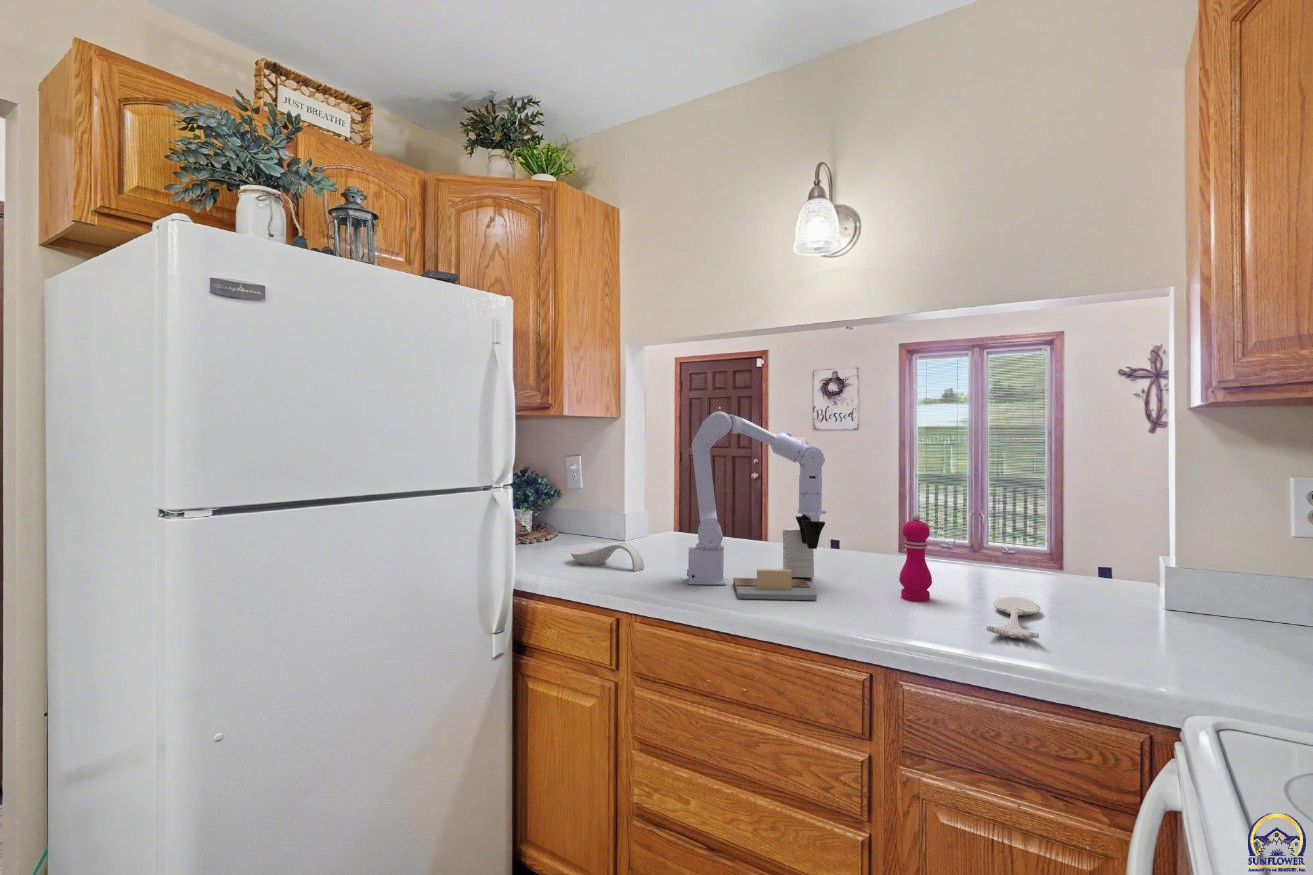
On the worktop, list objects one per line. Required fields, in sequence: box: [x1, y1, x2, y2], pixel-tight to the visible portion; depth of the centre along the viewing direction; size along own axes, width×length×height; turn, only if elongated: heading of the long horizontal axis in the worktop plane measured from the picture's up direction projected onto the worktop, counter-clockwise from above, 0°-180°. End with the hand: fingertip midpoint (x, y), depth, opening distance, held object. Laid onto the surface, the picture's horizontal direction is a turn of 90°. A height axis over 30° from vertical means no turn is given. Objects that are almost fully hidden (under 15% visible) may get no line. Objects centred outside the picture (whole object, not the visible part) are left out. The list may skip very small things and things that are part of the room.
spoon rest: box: [570, 542, 645, 573], centre depth 190 cm, size 24×12×7 cm, turn 56°
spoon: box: [986, 596, 1041, 640], centre depth 134 cm, size 9×32×4 cm, turn 150°
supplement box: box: [782, 528, 815, 578], centre depth 176 cm, size 7×7×13 cm
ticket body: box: [732, 577, 811, 592], centre depth 163 cm, size 18×8×2 cm, turn 87°
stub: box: [735, 568, 818, 601], centre depth 155 cm, size 18×7×6 cm, turn 87°
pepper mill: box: [898, 513, 933, 602], centre depth 154 cm, size 7×7×20 cm
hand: (809, 546), depth 168 cm, fingers open, 7 cm apart
